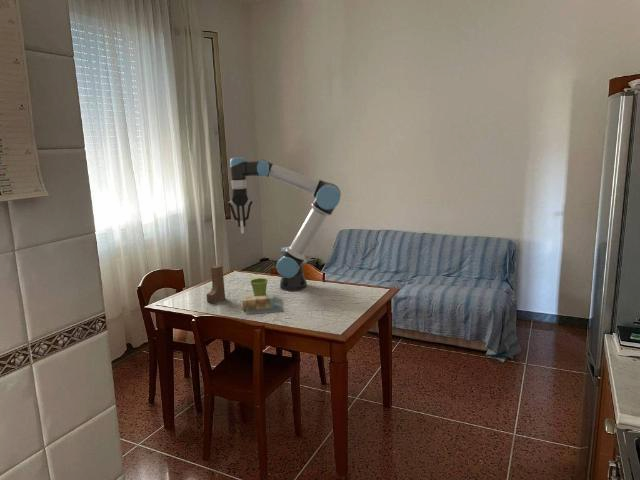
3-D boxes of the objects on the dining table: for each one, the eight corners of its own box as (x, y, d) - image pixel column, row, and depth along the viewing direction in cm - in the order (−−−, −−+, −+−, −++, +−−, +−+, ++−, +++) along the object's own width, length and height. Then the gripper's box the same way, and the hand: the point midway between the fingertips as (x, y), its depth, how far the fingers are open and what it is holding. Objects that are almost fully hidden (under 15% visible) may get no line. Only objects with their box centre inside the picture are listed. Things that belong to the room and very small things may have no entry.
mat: (281, 300, 242) (281, 300, 242) (283, 311, 227) (283, 310, 227) (246, 303, 240) (246, 302, 240) (246, 314, 224) (246, 314, 224)
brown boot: (212, 303, 242) (209, 270, 238) (206, 302, 244) (203, 269, 240) (225, 298, 249) (222, 265, 245) (219, 297, 251) (216, 264, 248)
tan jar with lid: (243, 306, 234) (273, 304, 236) (243, 310, 229) (273, 307, 231) (242, 297, 233) (272, 295, 235) (242, 300, 228) (273, 298, 230)
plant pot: (264, 299, 245) (263, 283, 243) (248, 298, 247) (247, 282, 246) (271, 294, 253) (270, 278, 252) (255, 292, 256) (254, 277, 254)
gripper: (251, 186, 246) (254, 230, 251) (226, 188, 244) (230, 232, 249) (251, 188, 238) (254, 233, 243) (226, 189, 237) (229, 234, 242)
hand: (242, 232), depth 246 cm, fingers closed
